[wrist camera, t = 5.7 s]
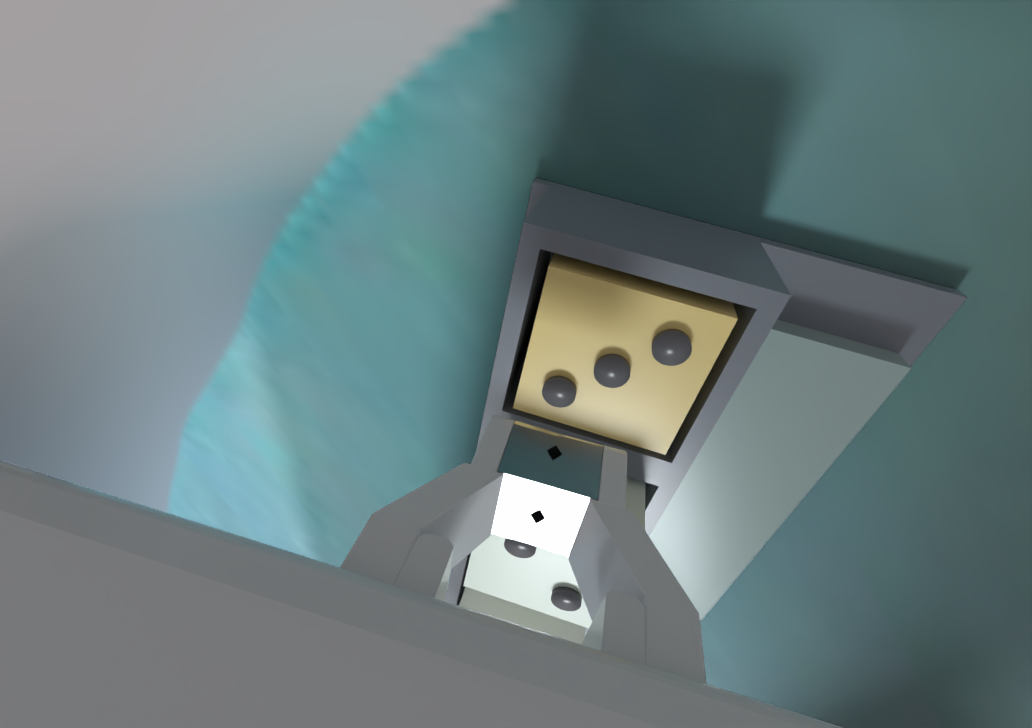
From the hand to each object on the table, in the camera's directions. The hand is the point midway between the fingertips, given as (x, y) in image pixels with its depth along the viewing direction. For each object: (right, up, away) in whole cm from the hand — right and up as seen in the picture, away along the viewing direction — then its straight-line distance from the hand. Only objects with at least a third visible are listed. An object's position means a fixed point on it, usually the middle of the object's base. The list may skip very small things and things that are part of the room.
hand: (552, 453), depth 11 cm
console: (+4, -1, +8) cm, 9 cm away
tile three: (+2, +4, +4) cm, 6 cm away
